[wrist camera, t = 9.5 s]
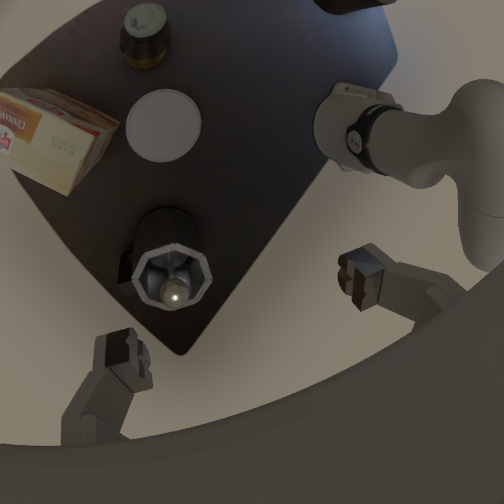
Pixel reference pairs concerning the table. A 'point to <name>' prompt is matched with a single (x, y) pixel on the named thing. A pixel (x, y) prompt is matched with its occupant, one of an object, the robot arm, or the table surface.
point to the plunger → (172, 279)
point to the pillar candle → (349, 5)
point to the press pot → (158, 242)
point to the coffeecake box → (51, 136)
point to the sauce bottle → (145, 35)
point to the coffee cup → (163, 125)
